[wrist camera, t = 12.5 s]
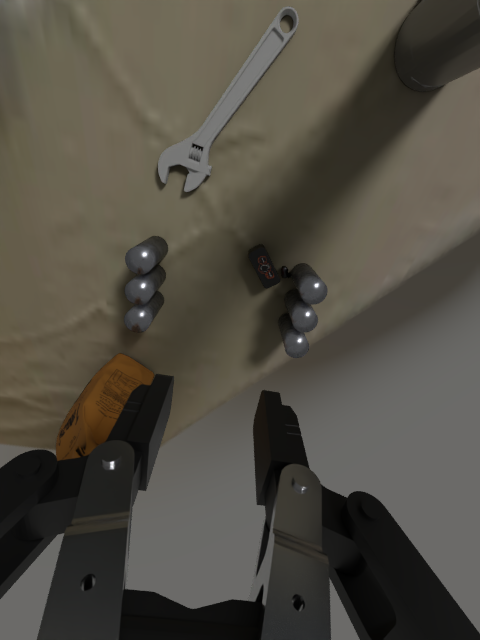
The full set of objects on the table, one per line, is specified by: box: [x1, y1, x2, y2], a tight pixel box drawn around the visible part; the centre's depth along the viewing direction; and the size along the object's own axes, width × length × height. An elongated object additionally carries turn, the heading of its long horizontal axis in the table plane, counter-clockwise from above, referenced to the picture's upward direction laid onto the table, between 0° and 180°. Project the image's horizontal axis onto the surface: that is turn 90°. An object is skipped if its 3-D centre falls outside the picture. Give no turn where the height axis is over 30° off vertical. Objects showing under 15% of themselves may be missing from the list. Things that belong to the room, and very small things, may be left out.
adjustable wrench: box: [158, 6, 298, 192], centre depth 39 cm, size 25×6×2 cm, turn 134°
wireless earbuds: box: [248, 244, 291, 288], centre depth 46 cm, size 5×7×3 cm, turn 28°
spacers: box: [124, 236, 327, 358], centre depth 45 cm, size 13×28×9 cm, turn 80°
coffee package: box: [56, 353, 154, 461], centre depth 48 cm, size 10×12×22 cm
